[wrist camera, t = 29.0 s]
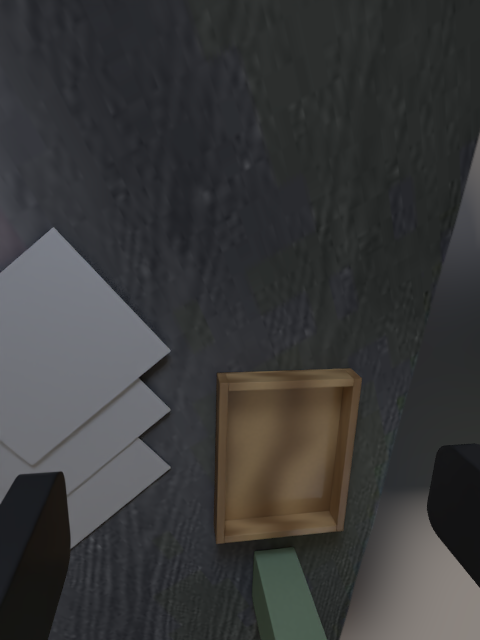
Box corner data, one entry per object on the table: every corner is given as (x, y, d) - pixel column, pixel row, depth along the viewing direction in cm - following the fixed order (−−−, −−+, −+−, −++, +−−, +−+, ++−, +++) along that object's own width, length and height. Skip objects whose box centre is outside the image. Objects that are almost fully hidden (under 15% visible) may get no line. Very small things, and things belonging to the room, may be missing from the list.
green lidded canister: (250, 597, 46) (276, 724, 35) (253, 550, 44) (281, 668, 33) (290, 591, 47) (328, 715, 35) (294, 545, 45) (336, 659, 34)
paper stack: (235, 415, 39) (236, 418, 39) (45, 568, 40) (43, 574, 40) (55, 226, 32) (53, 227, 31) (-169, 419, 33) (-176, 424, 33)
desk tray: (213, 525, 43) (216, 544, 40) (216, 372, 38) (219, 383, 36) (334, 513, 45) (343, 530, 42) (350, 368, 40) (362, 378, 38)
